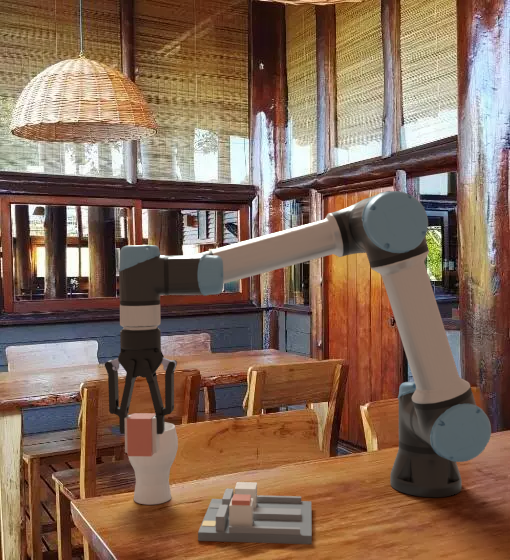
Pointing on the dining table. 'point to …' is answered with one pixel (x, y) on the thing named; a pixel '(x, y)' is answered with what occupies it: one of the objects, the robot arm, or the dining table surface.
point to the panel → (260, 521)
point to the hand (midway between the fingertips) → (142, 450)
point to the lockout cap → (140, 434)
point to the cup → (155, 469)
